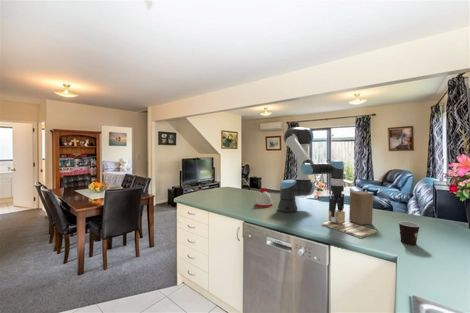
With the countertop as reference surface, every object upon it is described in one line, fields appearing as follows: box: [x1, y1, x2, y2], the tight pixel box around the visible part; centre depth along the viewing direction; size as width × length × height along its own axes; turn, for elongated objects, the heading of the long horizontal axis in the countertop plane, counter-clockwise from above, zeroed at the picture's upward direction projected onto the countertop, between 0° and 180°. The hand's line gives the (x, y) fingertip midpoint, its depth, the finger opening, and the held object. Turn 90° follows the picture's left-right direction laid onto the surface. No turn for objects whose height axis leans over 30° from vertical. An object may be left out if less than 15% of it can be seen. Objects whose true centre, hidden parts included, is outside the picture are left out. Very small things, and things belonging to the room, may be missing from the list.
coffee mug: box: [398, 220, 420, 247], centre depth 121 cm, size 12×9×10 cm
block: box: [348, 190, 374, 226], centre depth 154 cm, size 10×10×20 cm
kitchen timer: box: [255, 187, 273, 208], centre depth 198 cm, size 14×14×15 cm
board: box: [321, 220, 377, 239], centre depth 142 cm, size 25×16×1 cm, turn 34°
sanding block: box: [328, 209, 346, 224], centre depth 149 cm, size 8×5×7 cm, turn 34°
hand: (336, 221), depth 149 cm, fingers closed on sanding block, 5 cm apart
